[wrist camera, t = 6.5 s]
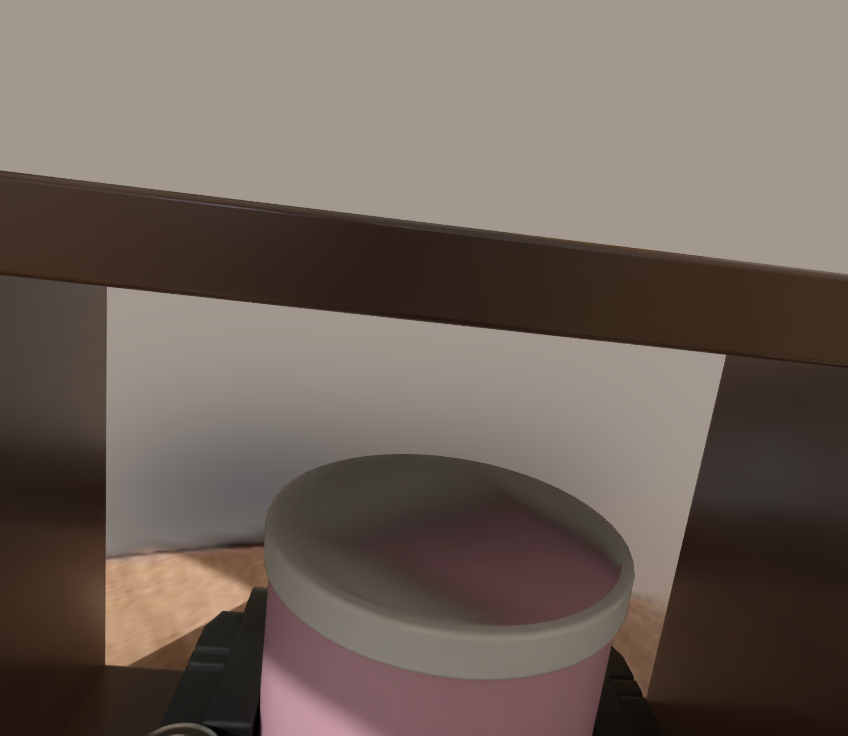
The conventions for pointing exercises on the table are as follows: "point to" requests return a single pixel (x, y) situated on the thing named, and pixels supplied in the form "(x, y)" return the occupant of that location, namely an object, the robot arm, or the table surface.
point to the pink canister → (436, 602)
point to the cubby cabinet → (449, 304)
